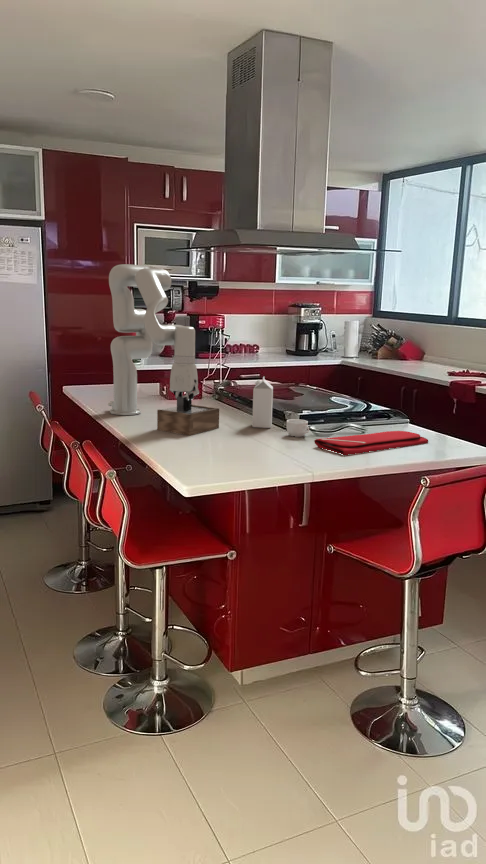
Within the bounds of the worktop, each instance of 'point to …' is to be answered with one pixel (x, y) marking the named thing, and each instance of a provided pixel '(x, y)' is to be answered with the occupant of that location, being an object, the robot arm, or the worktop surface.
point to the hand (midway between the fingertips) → (184, 409)
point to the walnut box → (188, 421)
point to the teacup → (297, 427)
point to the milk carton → (262, 404)
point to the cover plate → (195, 409)
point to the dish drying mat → (370, 442)
